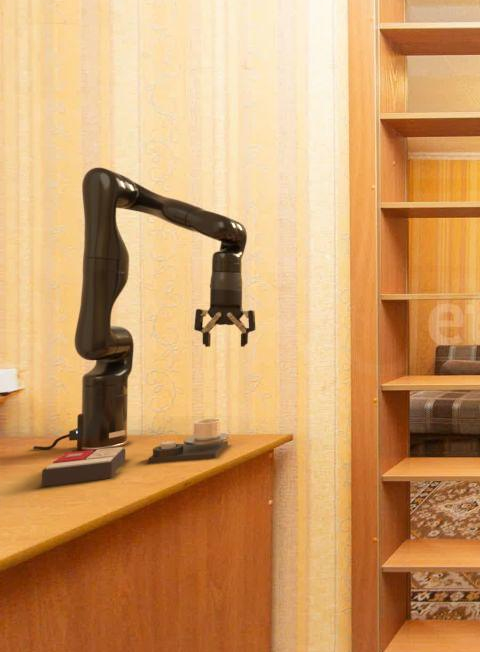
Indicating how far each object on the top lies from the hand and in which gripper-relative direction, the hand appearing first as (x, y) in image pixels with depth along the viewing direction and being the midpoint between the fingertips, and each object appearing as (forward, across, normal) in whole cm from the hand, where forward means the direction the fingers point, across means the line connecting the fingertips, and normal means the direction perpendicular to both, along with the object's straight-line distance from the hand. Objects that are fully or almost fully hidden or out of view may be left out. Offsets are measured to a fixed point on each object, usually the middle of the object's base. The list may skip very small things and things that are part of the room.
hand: (225, 346), depth 123 cm
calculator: (+28, +23, +16) cm, 40 cm away
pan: (+25, +3, +4) cm, 26 cm away
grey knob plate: (+28, +6, +6) cm, 29 cm away
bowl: (+24, +3, +4) cm, 25 cm away
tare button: (+26, +10, +9) cm, 29 cm away
